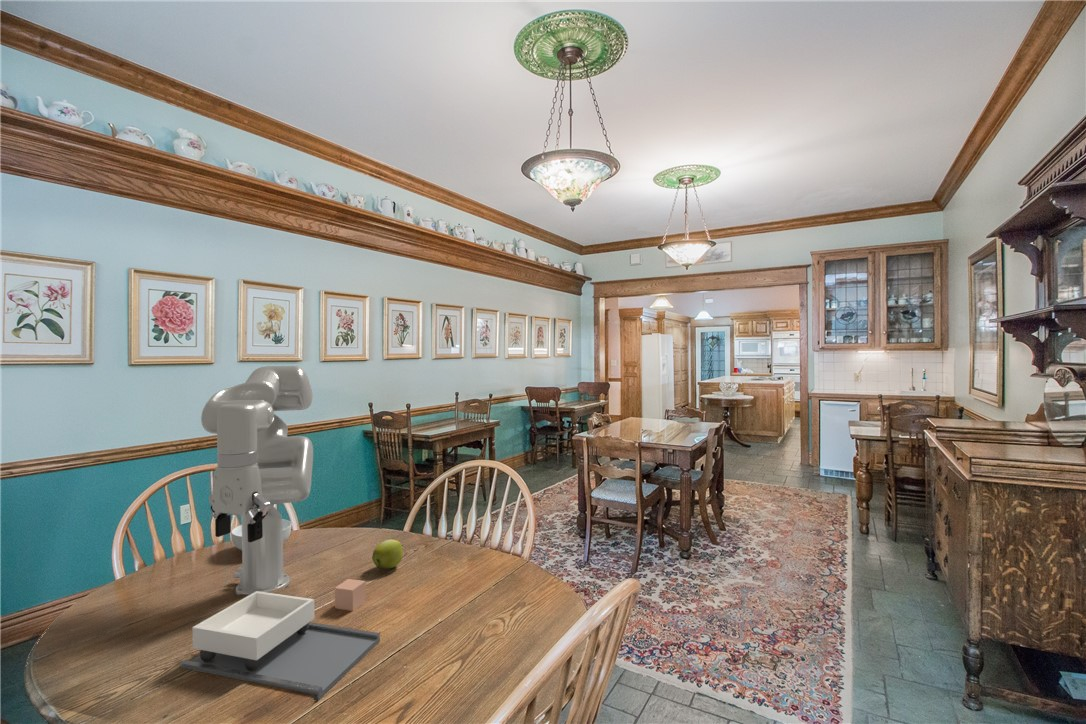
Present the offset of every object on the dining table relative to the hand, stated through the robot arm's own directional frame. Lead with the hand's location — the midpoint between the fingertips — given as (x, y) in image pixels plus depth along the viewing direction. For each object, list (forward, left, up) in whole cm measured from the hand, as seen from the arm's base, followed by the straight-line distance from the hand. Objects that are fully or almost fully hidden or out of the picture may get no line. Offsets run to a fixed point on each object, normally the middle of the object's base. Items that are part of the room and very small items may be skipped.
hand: (239, 537), depth 109 cm
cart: (+8, -4, -21) cm, 23 cm away
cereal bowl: (-36, +42, -22) cm, 60 cm away
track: (+15, -4, -22) cm, 27 cm away
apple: (+12, +39, -22) cm, 47 cm away
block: (+16, +16, -22) cm, 32 cm away
